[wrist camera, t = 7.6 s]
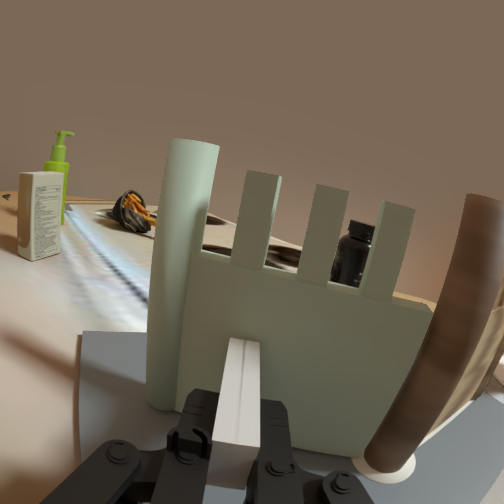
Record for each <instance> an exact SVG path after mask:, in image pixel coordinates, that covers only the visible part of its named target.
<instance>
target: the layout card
mask: <svg viewBox="0 0 504 504" xmlns="http://www.w3.org/2000/svg"><path fill="white" fill-rule="evenodd" d="M146 343H147V333H142V332H101V331H83V334H82V345H81V358H80V377H79V436H80V453H81V464H82V463H83V462H84V461H85V460H86V459H87V458H88V457H89V456H90V455H91V454H92V453H93V452H94V451H95V450H96V449H97V448H98V447H99V446H100V445H102V444H103V443H105V442H106V441H109V440H114V439H118V440H124V441H127V442H130V443H131V444H133V445H134V446H135V447H137V449H138V450H146V451H153V450H160V449H163V448H165V447H167V434H168V432H169V431H170V429H172V428H174V427H176V426H178V423H179V420H180V417H181V414H182V413H180V412H178V411H175V410H171V411H163V410H159V409H156V408H154V407H152V406H151V405H150V404H149V403H148V402H147V399H146ZM418 351H419V350H418ZM417 353H418V352H417ZM416 355H417V354H416ZM413 362H414V361H413ZM412 364H413V363H412ZM411 366H412V365H411ZM410 368H411V367H410ZM409 370H410V369H409ZM399 390H400V389H399ZM398 392H399V391H398ZM397 394H398V393H397ZM396 396H397V395H396ZM395 398H396V397H395ZM391 405H392V404H391ZM390 407H391V406H390ZM389 409H390V408H389ZM386 414H387V413H386ZM385 416H386V415H385ZM382 421H383V420H382ZM379 426H380V425H379ZM376 431H377V430H376ZM374 434H375V433H374ZM373 436H374V435H373ZM371 439H372V438H371ZM369 442H370V441H369ZM364 450H365V449H364ZM292 455H293V459H294V460H295V461H296V462H297V463H298V466H299V467H300V468H302V469H303V470H305V471H307V472H310V473H313V474H317V475H321V476H326V475H327V474H328V473H331V472H333V471H346V472H350V473H352V474H353V475H355V476H356V477H357V478H358V479H359V480H360V481H361V483H362V484H363V486H364V488H365V489H366V491H367V492H368V494H369V496H370V497H371V499H372V500H373V502H374V504H479V503H480V502H481V501H482V499H483V498H484V497H485V495H486V494H487V492H488V491H489V489H490V488H491V487H492V485H493V484H494V482H495V481H496V479H497V477H498V476H499V474H500V473H501V471H502V469H503V468H504V404H502V403H501V402H499V401H498V400H496V399H495V398H493V397H492V396H490V395H489V394H487V393H486V392H484V391H483V393H482V394H481V396H480V397H478V398H475V397H472V398H471V399H470V400H469V401H468V402H467V403H466V404H465V405H464V406H463V407H461V408H460V409H459V410H458V411H457V412H456V413H455V414H453V415H452V416H451V417H450V418H449V419H447V420H446V421H445V422H444V423H443V424H441V425H440V426H439V427H438V428H436V429H435V430H434V431H432V432H431V433H430V434H428V435H427V436H426V437H425V438H424V439H423V441H422V442H421V443H420V445H419V446H418V447H417V449H416V450H415V451H414V453H413V454H412V455H411V457H410V458H409V459H408V461H407V462H406V463H405V464H404V466H403V467H402V468H401V469H400V470H398V471H397V472H394V473H382V472H378V471H376V470H374V469H373V468H371V467H370V466H369V465H368V464H367V462H366V460H365V458H364V451H363V452H362V454H361V455H360V457H359V458H354V457H346V456H339V455H333V454H327V453H321V452H316V451H310V450H305V449H300V448H296V447H292ZM245 497H246V488H245V490H238V489H230V488H223V487H217V486H211V485H205V491H204V497H203V503H202V504H243V502H244V500H245ZM143 504H150V503H145V502H144V503H143Z"/></svg>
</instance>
